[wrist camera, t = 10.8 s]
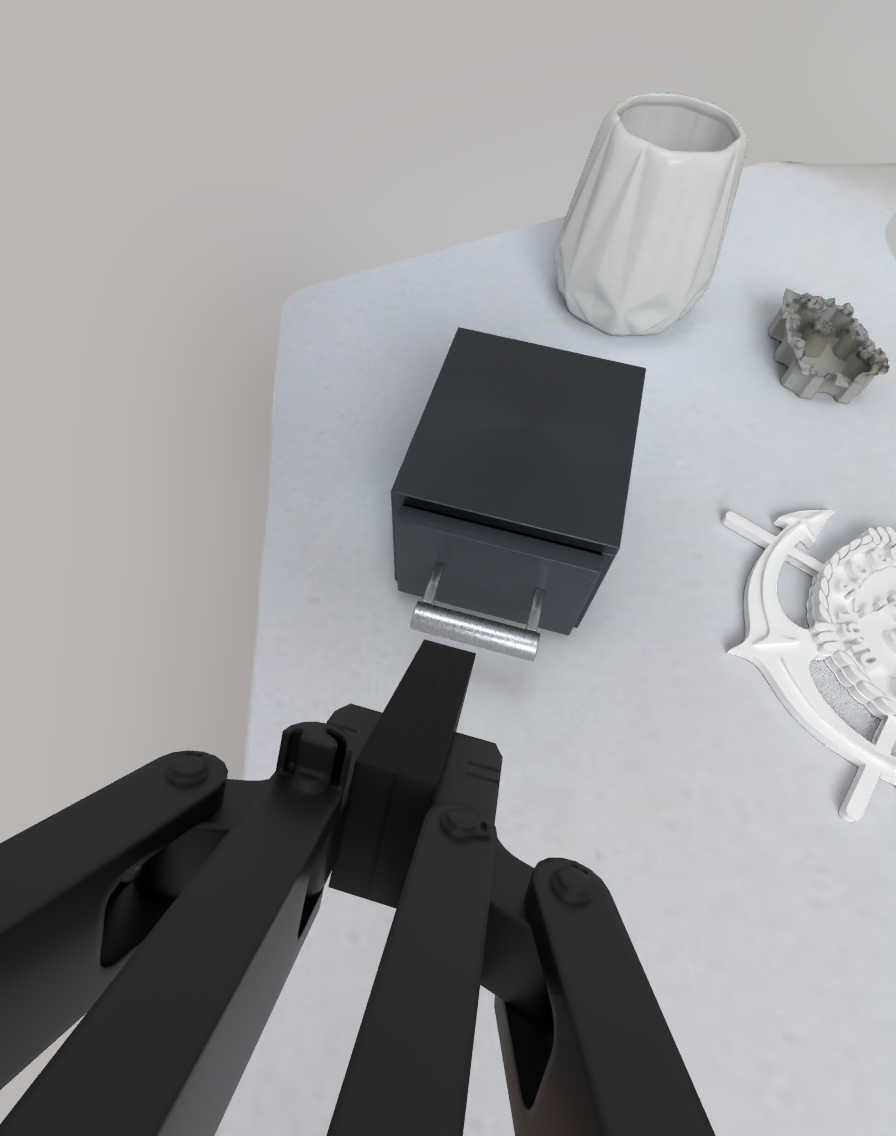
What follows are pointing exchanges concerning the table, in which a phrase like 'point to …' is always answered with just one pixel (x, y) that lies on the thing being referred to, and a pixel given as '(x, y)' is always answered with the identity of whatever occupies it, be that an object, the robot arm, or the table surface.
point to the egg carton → (824, 348)
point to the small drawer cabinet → (527, 443)
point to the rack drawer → (490, 580)
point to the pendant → (829, 638)
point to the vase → (650, 213)
